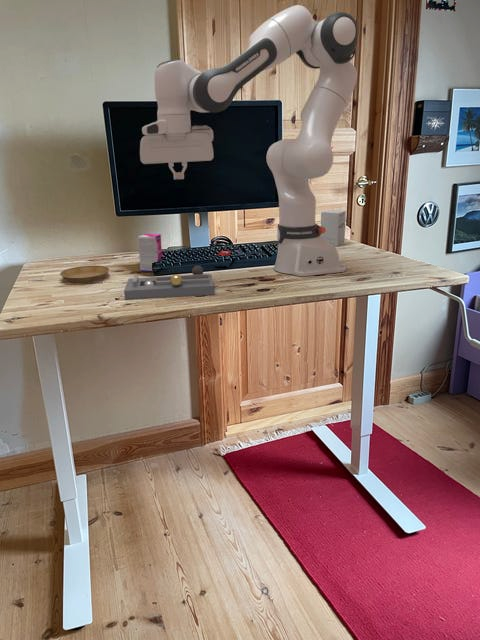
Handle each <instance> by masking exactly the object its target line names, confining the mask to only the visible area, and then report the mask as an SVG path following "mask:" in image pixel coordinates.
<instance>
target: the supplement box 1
mask: <svg viewBox="0 0 480 640" xmlns="http://www.w3.org/2000/svg"><path fill="white" fill-rule="evenodd" d="M137 240H138V253H139V255H138V256H139V268H140V270H139V271H140V273H153V272H152V263H154V262H157V261H158V260H159V259H160V258H161V257H162V258H163V250H162V247H163V246H162V234H161V233H160V234H159V233H143V234H142V235H139V236H138V237H137Z"/></svg>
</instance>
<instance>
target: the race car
mask: <svg viewBox="0 0 480 640" xmlns="http://www.w3.org/2000/svg"><path fill="white" fill-rule="evenodd" d="M231 252H232V251H230V250H222V251H220V252H219V253H218V254H219V255H221V256H227V255H230V253H231Z"/></svg>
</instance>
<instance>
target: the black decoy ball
mask: <svg viewBox="0 0 480 640" xmlns="http://www.w3.org/2000/svg"><path fill="white" fill-rule="evenodd" d="M191 270H192V271H191V272H192V275H198V274H204V268H203V266H201V265H199V264H198V265H194V266H193V267H192V269H191Z"/></svg>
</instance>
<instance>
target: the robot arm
mask: <svg viewBox="0 0 480 640" xmlns="http://www.w3.org/2000/svg"><path fill="white" fill-rule="evenodd" d="M358 39H359V26H358V23H357V21H356V20H355V18H354V17H353V15H351V14H350V13H347V12H342V11H340V12H334V13H331V14H329V15H328V16H327V17H326V18H324V19H322V20H321V21H317V20H315V19H314V18H313V15H312V13H311V12H310V10H309V9H307V7H305V6H303V5H302V4H300V5H299V4H297V5H292V6H289V7H287V8H285V9H283V10H282V11H281V10H280V11H279V12H278V13H276V14H274V15H272V16H271V17H270V18H268V19H267V20H265V21H264V22H263V23H261V24H260V26H258V27H257V28H255V30H254V31H253V32H252V34H250V36H249V37H248V43H247V45H248V46H247V47H248V48H247V49H246V50H245V51H243V53H241V54H240V55H238V56H237V57H236V58H234V59H233V60H231V62H229V63H228V64H226V65H224V66H223V67H215V68H214V67H213V68H209V69H207V70H205V71H200V70H198V69H195V68H194V67H192V66H190V65H189V64H187V63H186V62H185V60H183V59H182V58H181V59H180V58H174V59H169V60H166V61H163V62H160V64H158V65H157V66H156V68H155V70H154V94H155V100H156V102H157V112H156V113H157V114H156V117H157V119H156V121H152V122H151V123H149V124H146V125H144V126H142V128H141V132H142V133H141V134H142V135H144V136H142V138H141V139H140V141H139V143H140V144H139V145H140V146H139V157H140V159H139V160H140V162H141V163H142V164H144V165H149V164H150V165H153V164H167V163H168V168H169V170H170V171H171V172H172V174H173V180H185V171H186V170H187V167H188V163H189V162H205V161H206V162H207V161H212V160H213V159H214V158H215V157H214V147H213V143H212V142H213V141H214V130H213V129H212V128H211V127H210V126H208V125H207V124H206V125H192V124H191V123H192V122H191V121H192V120H191V111H195V112H198V113H216V114H217V113H220V112H223V111H225V110H226V109H227V108H228V107H229V106H230V105H231V104H232V102H233V100H234V99H235V97H236V95H237V94H238V92H239V90H240V89H241V88H242V87H244V86H245V85H246V84H248V83H249V82H250V81H252V80H253V79H254V78H255V77H257V76H258V74H260V73H262V72H263V71H268V70H270V69H273V68H275V67H277V66H278V65H280V64H282V63H284V62H285V61H286V60H287V59H289V58H291V57H292V56H293V55H297V56H299V59H300V60H301V62H302V63H303V64H304V65H305V66H306V67H308V68H309V69H313V70H317V69H319V75H318V77H317V80H316V83H315V84H314V86H313V87H312V90H311V92H310V94H309V96H308V98H307V99H306V102H305V104H304V105H303V107H302V109H301V111H300V120H301V127H300V131H299V133H298V135H297V136H296V138H284V139H280V140H278V141H277V142H276V141H275V142H274V143H272V144H271V145H270V146H269V147H268V150H267V153H266V158H265V159H266V163H267V166H268V167H269V168H268V169H270V171H271V173H272V175H273V179H274V182H275V187H276V190H277V196H278V217H279V219H278V224H277V231H276V233H277V238H276V239H277V243H278V247H277V255H276V259H275V264H274V266H273V267H274V268H273V269H274V271H275V272H278V273H282V274H287V275H288V274H289V275H293V276H298V277H308V276H309V277H310V276H317V275H318V276H319V275H327V274H334V273H343V272H345V271H347V265H346V264H345V263H344V262H342V261H341V260H340V255H339V252H338V250H337V247H334V246H333V245H332V244H330V243H329V242H328V241H327V240H325V239H324V238H323V237H322V236H320V235H321V234H324V232H326V230H325V228H324V227H323V226H321V225H320V224H317V223H316V210H317V209H316V208H317V207H316V204H317V203H316V202H317V201H316V196H315V195H314V192H312V190H311V188H310V184H309V181H308V180H313V179H317V178H322V177H324V176H325V175H327V174H328V173H329V172H330V170H331V168H332V166H333V164H334V153H333V150H332V147H331V146H332V139H333V136H334V134H335V133H334V132H335V130H336V127H337V126H338V123H339V121H340V119H341V118H342V116H343V114H344V111H345V110H346V107H347V105H348V104H349V103H350V102H349V101H350V99H351V97H352V95H353V92H354V89H355V86H356V84H357V81H358V80H357V79H358V70H357V68H356V67H355V65H354V64H353V63H351V60H353V58H354V57H355V55H356V48H357V47H356V46H357V43H358ZM174 163H181V166H182V170H181V171H180V172H179V171H178V172H176V171H175V169H174V168H173V167H174V166H175V165H174Z"/></svg>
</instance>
